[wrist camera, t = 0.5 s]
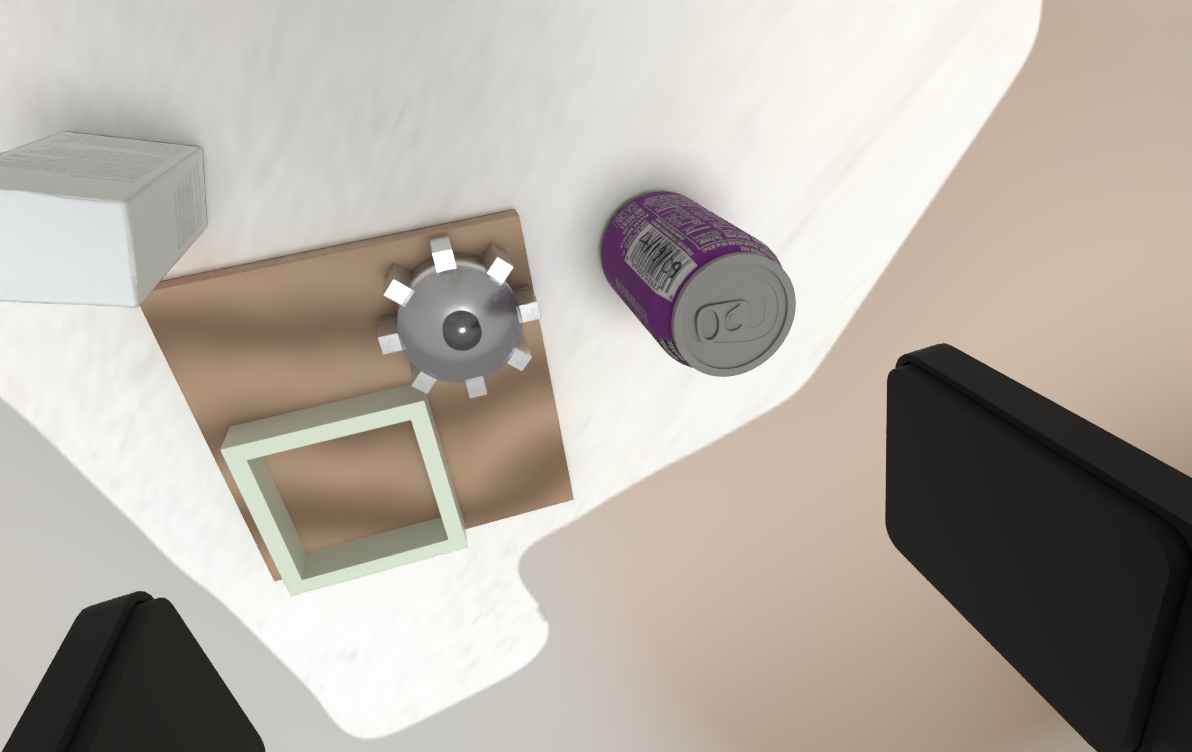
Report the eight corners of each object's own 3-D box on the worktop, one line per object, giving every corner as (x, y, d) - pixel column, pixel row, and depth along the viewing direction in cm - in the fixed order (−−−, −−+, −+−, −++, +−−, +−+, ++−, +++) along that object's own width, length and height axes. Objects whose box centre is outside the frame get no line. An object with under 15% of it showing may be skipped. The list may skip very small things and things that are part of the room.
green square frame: (229, 426, 40) (220, 449, 37) (422, 380, 41) (424, 400, 39) (295, 569, 45) (290, 596, 43) (464, 523, 47) (467, 547, 44)
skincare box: (76, 218, 35) (-61, 301, 24) (63, 129, 33) (-91, 176, 23) (213, 230, 36) (139, 312, 26) (207, 146, 35) (125, 197, 24)
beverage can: (609, 314, 44) (675, 403, 34) (588, 205, 41) (653, 267, 30) (713, 285, 45) (808, 362, 35) (700, 176, 42) (801, 226, 31)
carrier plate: (143, 285, 37) (134, 294, 35) (514, 209, 40) (518, 215, 39) (277, 565, 46) (274, 581, 45) (569, 487, 49) (573, 499, 48)
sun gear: (358, 252, 37) (355, 274, 34) (516, 219, 39) (527, 238, 35) (401, 390, 41) (402, 422, 38) (542, 357, 43) (555, 384, 39)
